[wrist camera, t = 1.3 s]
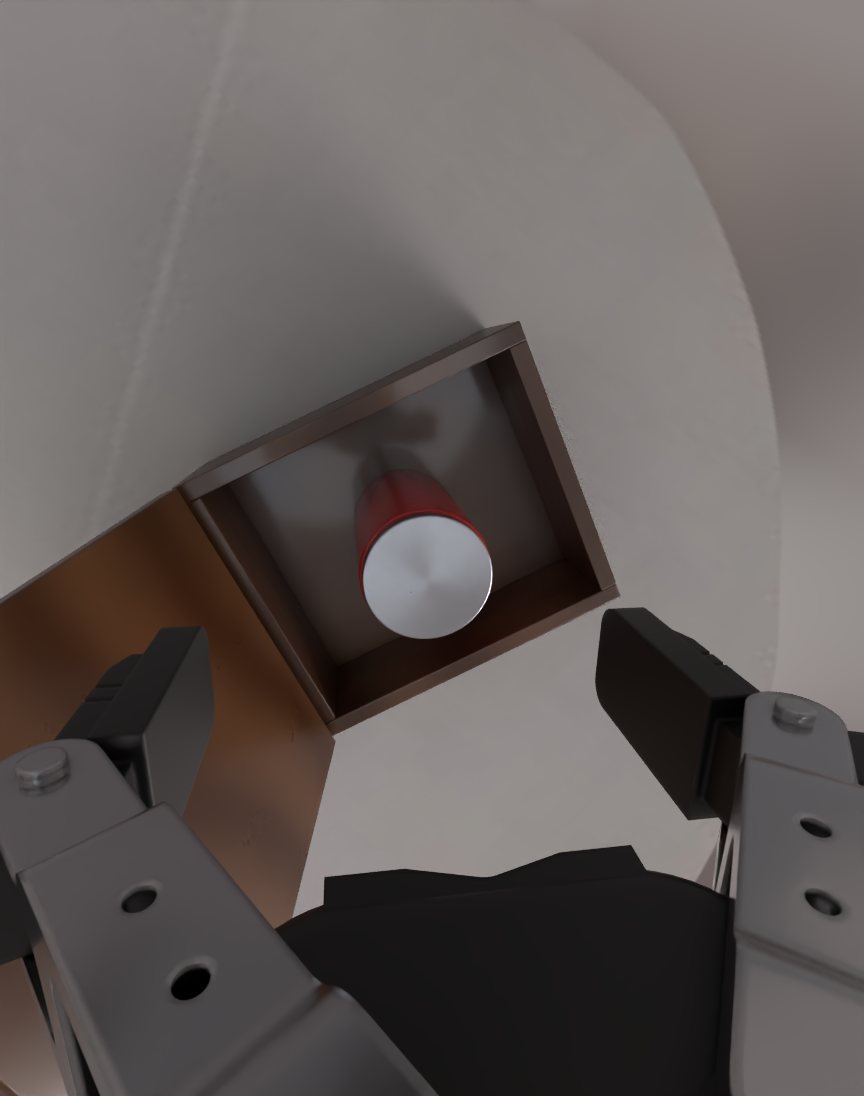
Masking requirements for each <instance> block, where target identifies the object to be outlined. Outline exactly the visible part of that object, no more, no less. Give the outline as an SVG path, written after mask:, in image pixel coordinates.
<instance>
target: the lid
mask: <svg viewBox="0 0 864 1096" xmlns="http://www.w3.org/2000/svg"><path fill="white" fill-rule="evenodd" d="M186 626H204V627H205V629H206V632H207V636H208V644H209V653H210V663H211V672H212V682H213V691H214V703H215V711H214V724H213V729H212V733H211V736H210V739H209V742H208V744H207V747H206V750H205V753H204V756H203V759H202V761H201V764H200V767H199V770H198V773H197V776H196V778H195V781H194V784H193V787H192V790H191V793H190V796H189V798H188V801H187V804H186V807H185V810H184V813H183V815H182V818H183V819H184V820H185V821H186V823H187V824H188V825H189V826H190V828H191V829H192V830H193V831H194V832H195V834H196V835H197V836H198V837H199V838H200V840H201V841H202V842H203V843H204V844H205V846H206V847H207V848H208V849H209V851H210V852H211V853H212V854H213V855H214V857H215V858H216V859H217V860H218V861H219V863H220V864H221V865H222V866H223V867H224V869H225V870H226V871H227V872H228V874H229V875H230V876H231V877H232V878H233V880H234V881H235V882H236V883H237V884H238V886H239V887H240V888H241V889H242V890H243V892H244V893H245V894H246V895H247V897H248V898H249V899H250V900H251V901H252V903H253V904H254V905H255V906H256V907H257V909H258V910H259V911H260V912H261V913H262V915H263V916H264V917H265V918H266V920H267V921H268V922H269V923H270V924H271V926H272V927H273V928H274V929H275V928H277V927H278V926H280V925H282V924H283V923H285V922H287V921H288V920H290V919H292V916H293V912H294V908H295V904H296V900H297V896H298V892H299V888H300V883H301V879H302V875H303V871H304V867H305V863H306V859H307V855H308V851H309V847H310V843H311V839H312V835H313V831H314V827H315V823H316V819H317V815H318V811H319V807H320V803H321V799H322V795H323V790H324V786H325V782H326V778H327V774H328V770H329V766H330V762H331V758H332V754H333V750H334V746H335V740H334V738H333V737H332V735H331V733H330V732H329V730H328V729H327V727H326V726H325V724H324V722H323V721H322V719H321V718H320V716H319V714H318V713H317V711H316V710H315V708H314V706H313V705H312V703H311V702H310V700H309V698H308V697H307V695H306V694H305V692H304V690H303V689H302V687H301V686H300V684H299V683H298V681H297V679H296V678H295V676H294V675H293V673H292V671H291V670H290V668H289V667H288V665H287V663H286V662H285V660H284V659H283V657H282V655H281V654H280V652H279V651H278V649H277V648H276V646H275V644H274V643H273V641H272V640H271V638H270V636H269V635H268V633H267V632H266V630H265V628H264V627H263V625H262V624H261V622H260V620H259V619H258V617H257V616H256V614H255V612H254V611H253V609H252V608H251V606H250V605H249V603H248V601H247V600H246V598H245V597H244V595H243V593H242V592H241V590H240V589H239V587H238V585H237V584H236V582H235V581H234V579H233V577H232V576H231V574H230V573H229V571H228V569H227V568H226V566H225V565H224V563H223V562H222V560H221V558H220V557H219V555H218V554H217V552H216V550H215V549H214V547H213V546H212V544H211V542H210V541H209V539H208V538H207V536H206V534H205V533H204V531H203V530H202V528H201V526H200V525H199V523H198V522H197V520H196V519H195V517H194V515H193V514H192V512H191V511H190V509H189V507H188V506H187V504H186V503H185V501H184V499H183V498H182V496H181V495H180V493H179V491H178V490H177V489H176V488H174V489H172V490H170V491H168V492H165V493H163V494H161V495H159V496H158V497H156V498H155V499H153V500H152V501H150V502H149V503H147V504H146V505H144V506H143V507H141V508H139V509H138V510H136V511H135V512H133V513H132V514H130V515H129V516H127V517H126V518H124V519H123V520H121V521H119V522H118V523H116V524H115V525H113V526H112V527H110V528H109V529H107V530H106V531H104V532H103V533H101V534H99V535H98V536H96V537H95V538H93V539H92V540H90V541H89V542H87V543H86V544H84V545H83V546H81V547H79V548H78V549H76V550H75V551H73V552H72V553H70V554H69V555H67V556H66V557H64V558H63V559H61V560H59V561H58V562H56V563H55V564H53V565H52V566H50V567H49V568H47V569H46V570H44V571H43V572H41V573H39V574H38V575H36V576H35V577H33V578H32V579H30V580H29V581H27V582H26V583H24V584H23V585H21V586H19V587H18V588H16V589H15V590H13V591H12V592H10V593H9V594H7V595H6V596H4V597H3V598H1V599H0V762H1V761H3V760H5V759H6V758H8V757H10V756H11V755H13V754H15V753H17V752H19V751H22V750H24V749H27V748H29V747H32V746H35V745H38V744H41V743H45V742H49V741H53V740H54V739H55V738H56V736H57V735H58V734H59V732H60V731H61V730H62V729H63V727H64V726H65V725H66V723H67V722H68V721H69V719H70V718H71V717H72V715H73V714H74V713H75V712H76V710H77V709H78V708H79V706H80V705H81V704H82V702H85V698H86V697H87V696H88V695H89V693H90V692H91V691H92V689H94V688H96V684H97V683H98V681H99V680H100V679H101V678H102V676H103V675H104V674H105V672H106V671H107V670H108V669H109V668H110V667H112V666H113V665H115V664H117V663H118V662H120V661H121V660H123V659H124V658H126V657H128V656H129V655H131V654H144V652H145V651H146V649H147V648H148V646H149V645H150V643H151V642H152V640H153V639H154V637H155V636H156V635H157V633H158V632H159V630H160V629H161V628H163V627H186ZM0 1096H68V1094H67V1091H66V1088H65V1085H64V1081H63V1078H62V1075H61V1072H60V1069H59V1067H58V1064H57V1061H56V1058H55V1056H54V1053H53V1050H52V1047H51V1045H50V1042H49V1039H48V1036H47V1034H46V1031H45V1028H44V1025H43V1023H42V1020H41V1017H40V1014H39V1012H38V1009H37V1006H36V1003H35V1001H34V998H33V995H32V992H31V990H30V987H29V984H28V981H27V979H26V976H25V973H24V970H23V968H22V965H21V961H20V958H19V959H16V960H13V961H11V962H8V963H5V964H3V965H0Z"/></svg>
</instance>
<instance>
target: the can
mask: <svg viewBox="0 0 864 1096" xmlns="http://www.w3.org/2000/svg"><path fill="white" fill-rule="evenodd" d="M355 534H356V547H357V561H358V574H359V584H360V588H361V592H362V595H363V597H364V600H365V602H366V603H367V605H368V607H369V609H370V610H371V612H372V613H373V615H374V616H375V617H376V618H377V619H378V620H379V621H380V622H381V623H382V624H383V625H384V626H386V627H387V628H388V629H390V630H392V631H394V632H395V633H398V634H400V635H403V636H407V637H410V638H417V639H431V638H438V637H442V636H445V635H448V634H451V633H453V632H455V631H457V630H459V629H461V628H462V627H464V626H465V625H466V624H468V623H469V622H470V621H471V620H472V619H473V618H474V617H475V616H476V615H477V614H478V613H479V611H480V610H481V608H482V607H483V605H484V604H485V602H486V600H487V597H488V595H489V592H490V589H491V584H492V564H491V559H490V554H489V551H488V548H487V545H486V543H485V541H484V539H483V538H482V536H481V535H480V533H479V532H478V530H477V529H476V528H475V527H474V525H473V524H472V523H471V522H470V520H469V519H468V518H467V517H466V515H465V514H464V513H463V512H462V510H461V509H460V508H459V506H458V505H457V504H456V503H455V501H454V500H453V499H452V498H451V496H450V495H449V494H448V493H447V491H446V490H445V489H444V488H443V486H442V485H441V484H440V483H439V482H437V481H436V480H435V479H434V478H432V477H430V476H429V475H426V474H424V473H421V472H418V471H413V470H398V471H393V472H389V473H387V474H384V475H382V476H380V477H379V478H377V479H376V480H374V481H373V482H372V483H371V484H370V485H368V487H367V488H366V489H365V490H364V492H363V493H362V495H361V496H360V498H359V501H358V503H357V506H356V510H355Z"/></svg>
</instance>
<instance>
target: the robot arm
mask: <svg viewBox="0 0 864 1096" xmlns="http://www.w3.org/2000/svg"><path fill="white" fill-rule="evenodd" d="M595 683H596V691H597V696H598V699H599V702H600V704H601V706H602V707H603V709H604V710H605V711H606V713H607V714H608V715H609V717H610V718H611V719H612V721H613V722H614V723H615V725H616V726H617V727H618V728H619V730H620V731H621V732H622V734H623V735H624V736H625V738H626V739H627V740H628V742H629V743H630V744H631V746H632V747H633V748H634V750H635V751H636V752H637V754H638V755H639V756H640V757H641V759H642V760H643V761H644V763H645V764H646V765H647V767H648V768H649V769H650V771H651V772H652V773H653V775H654V776H655V777H656V779H657V780H658V781H659V782H660V784H661V785H662V786H663V788H664V789H665V790H666V792H667V793H668V794H669V796H670V797H671V798H672V800H673V801H674V802H675V804H676V805H677V806H678V807H679V809H680V810H681V811H682V813H683V814H684V815H685V817H686V818H687V819H688V820H696V819H706V818H716V817H719V818H720V820H721V826H720V831H719V836H718V842H717V851H716V859H715V868H714V877H713V886H712V889H710V888H708V887H705V886H703V885H700V884H698V883H695V882H693V881H690V880H687V879H684V878H680V877H677V876H674V875H670V874H665V873H660V872H656V871H649V870H646V869H645V868H644V866H643V864H642V863H641V861H640V859H639V858H638V856H637V854H636V853H635V851H634V849H633V848H632V846H631V845H627V846H617V847H608V848H598V849H589V850H579V851H569V852H560V853H557V854H554V855H552V856H549V857H546V858H543V859H540V860H538V861H535V862H532V863H529V864H527V865H524V866H521V867H518V868H515V869H513V870H510V871H507V872H504V873H502V874H499V875H496V876H492V877H474V876H465V875H456V874H446V873H437V872H428V871H419V870H410V869H398V870H389V871H379V872H370V873H360V874H351V875H341V876H332V877H325V878H324V905H322V906H319V907H317V908H314V909H311V910H309V911H307V912H305V913H302V914H300V915H298V916H296V917H294V918H292V919H290V920H288V921H287V922H285V923H283V924H282V925H280V926H278V927H277V928H275V929H274V928H273V927H272V926H271V924H270V923H269V922H268V921H267V920H266V918H265V917H264V916H263V915H262V913H261V912H260V911H259V910H258V909H257V907H256V906H255V905H254V904H253V903H252V901H251V900H250V899H249V898H248V897H247V895H246V894H245V893H244V892H243V890H242V889H241V888H240V887H239V886H238V884H237V883H236V882H235V881H234V880H233V878H232V877H231V876H230V875H229V874H228V872H227V871H226V870H225V869H224V867H223V866H222V865H221V864H220V863H219V861H218V860H217V859H216V858H215V857H214V855H213V854H212V853H211V852H210V851H209V849H208V848H207V847H206V846H205V844H204V843H203V842H202V841H201V840H200V838H199V837H198V836H197V835H196V834H195V832H194V831H193V830H192V829H191V828H190V826H189V825H188V824H187V823H186V821H185V820H184V819H183V818H182V815H183V813H184V810H185V807H186V804H187V801H188V798H189V796H190V793H191V790H192V787H193V784H194V781H195V778H196V776H197V773H198V770H199V767H200V764H201V761H202V759H203V756H204V753H205V750H206V747H207V744H208V742H209V739H210V736H211V733H212V729H213V724H214V711H215V703H214V691H213V682H212V672H211V663H210V653H209V644H208V636H207V632H206V629H205V627H204V626H186V627H163V628H161V629H160V630H159V632H158V633H157V635H156V636H155V637H154V639H153V640H152V642H151V643H150V645H149V646H148V648H147V649H146V651H145V652H144V654H131V655H129V656H128V657H126V658H124V659H123V660H121V661H120V662H118V663H117V664H115V665H113V666H112V667H110V668H109V669H108V670H107V671H106V672H105V674H104V675H103V676H102V678H101V679H100V680H99V681H98V683H97V684H96V688H94V689H92V691H91V692H90V693H89V695H88V696H87V697H86V698H85V702H82V704H81V705H80V706H79V708H78V709H77V710H76V712H75V713H74V714H73V715H72V717H71V718H70V719H69V721H68V722H67V723H66V725H65V726H64V727H63V729H62V730H61V731H60V732H59V734H58V735H57V736H56V738H55V739H54V740H53V741H49V742H45V743H41V744H38V745H35V746H32V747H29V748H27V749H24V750H22V751H19V752H17V753H15V754H13V755H11V756H10V757H8V758H6V759H5V760H3V761H1V762H0V965H3V964H5V963H8V962H11V961H13V960H16V959H19V958H20V961H21V965H22V968H23V970H24V973H25V976H26V979H27V981H28V984H29V987H30V990H31V992H32V995H33V998H34V1001H35V1003H36V1006H37V1009H38V1012H39V1014H40V1017H41V1020H42V1023H43V1025H44V1028H45V1031H46V1034H47V1036H48V1039H49V1042H50V1045H51V1047H52V1050H53V1053H54V1056H55V1058H56V1061H57V1064H58V1067H59V1069H60V1072H61V1075H62V1078H63V1081H64V1085H65V1088H66V1091H67V1094H68V1096H864V733H861V732H853V731H847V727H846V725H845V723H844V721H843V720H842V719H841V718H840V717H839V716H838V715H837V714H836V713H834V712H833V711H831V710H830V709H828V708H826V707H825V706H823V705H821V704H819V703H816V702H814V701H812V700H809V699H806V698H803V697H800V696H797V695H793V694H788V693H781V692H771V691H768V692H760V691H759V690H758V689H756V688H755V687H754V686H752V685H751V684H750V683H749V682H747V681H746V680H745V679H743V678H742V677H741V676H740V675H738V674H737V673H736V672H735V671H733V670H732V669H731V668H729V667H728V666H727V665H723V662H722V661H720V660H719V659H718V658H717V657H715V656H714V655H713V654H711V655H710V653H709V651H708V650H706V649H705V648H704V647H703V646H701V645H700V644H699V643H698V642H696V641H695V640H694V639H692V638H690V637H687V636H685V635H683V634H681V633H679V632H676V631H674V630H672V629H671V628H669V627H668V626H667V625H666V624H664V623H663V622H662V621H661V620H659V619H658V618H657V617H656V616H654V615H653V614H652V613H651V612H649V611H648V610H647V609H645V608H643V607H640V608H617V609H608V610H606V611H605V613H604V615H603V618H602V623H601V631H600V640H599V649H598V658H597V667H596V677H595Z"/></svg>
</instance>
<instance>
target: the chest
mask: <svg viewBox="0 0 864 1096" xmlns="http://www.w3.org/2000/svg"><path fill="white" fill-rule="evenodd" d="M398 470H413V471H418V472H421V473H424V474H426V475H429V476H430V477H432V478H434V479H435V480H436V481H437V482H439V483H440V484H441V485H442V486H443V488H444V489H445V490H446V491H447V493H448V494H449V495H450V496H451V498H452V499H453V500H454V501H455V503H456V504H457V505H458V506H459V508H460V509H461V510H462V512H463V513H464V514H465V515H466V517H467V518H468V519H469V520H470V522H471V523H472V524H473V525H474V527H475V528H476V529H477V530H478V532H479V533H480V535H481V536H482V538H483V539H484V541H485V543H486V545H487V548H488V551H489V554H490V559H491V564H492V584H491V589H490V592H489V595H488V597H487V600H486V602H485V604H484V605H483V607H482V608H481V610H480V611H479V613H478V614H477V615H476V616H475V617H474V618H473V619H472V620H471V621H470V622H469V623H468V624H466V625H465V626H464V627H462V628H461V629H459V630H457V631H455V632H453V633H451V634H448V635H445V636H442V637H438V638H431V639H417V638H410V637H407V636H403V635H400V634H398V633H395V632H394V631H392V630H390V629H388V628H387V627H386V626H384V625H383V624H382V623H381V622H380V621H379V620H378V619H377V618H376V617H375V616H374V615H373V613H372V612H371V610H370V609H369V607H368V605H367V603H366V602H365V600H364V597H363V595H362V592H361V588H360V584H359V574H358V561H357V547H356V534H355V510H356V506H357V503H358V501H359V498H360V496H361V495H362V493H363V492H364V490H365V489H366V488H367V487H368V485H370V484H371V483H372V482H373V481H374V480H376V479H377V478H379V477H380V476H382V475H384V474H387V473H389V472H393V471H398ZM174 488H176V489H177V490H178V491H179V493H180V495H181V496H182V498H183V499H184V501H185V503H186V504H187V506H188V507H189V509H190V511H191V512H192V514H193V515H194V517H195V519H196V520H197V522H198V523H199V525H200V526H201V528H202V530H203V531H204V533H205V534H206V536H207V538H208V539H209V541H210V542H211V544H212V546H213V547H214V549H215V550H216V552H217V554H218V555H219V557H220V558H221V560H222V562H223V563H224V565H225V566H226V568H227V569H228V571H229V573H230V574H231V576H232V577H233V579H234V581H235V582H236V584H237V585H238V587H239V589H240V590H241V592H242V593H243V595H244V597H245V598H246V600H247V601H248V603H249V605H250V606H251V608H252V609H253V611H254V612H255V614H256V616H257V617H258V619H259V620H260V622H261V624H262V625H263V627H264V628H265V630H266V632H267V633H268V635H269V636H270V638H271V640H272V641H273V643H274V644H275V646H276V648H277V649H278V651H279V652H280V654H281V655H282V657H283V659H284V660H285V662H286V663H287V665H288V667H289V668H290V670H291V671H292V673H293V675H294V676H295V678H296V679H297V681H298V683H299V684H300V686H301V687H302V689H303V690H304V692H305V694H306V695H307V697H308V698H309V700H310V702H311V703H312V705H313V706H314V708H315V710H316V711H317V713H318V714H319V716H320V718H321V719H322V721H323V722H324V724H325V726H326V727H327V729H328V730H329V732H330V733H331V735H332V736H333V735H335V734H337V733H339V732H341V731H344V730H346V729H348V728H350V727H352V726H354V725H356V724H358V723H360V722H362V721H364V720H366V719H368V718H371V717H373V716H375V715H377V714H379V713H381V712H383V711H385V710H387V709H389V708H391V707H393V706H395V705H398V704H400V703H402V702H404V701H406V700H408V699H410V698H412V697H414V696H416V695H418V694H420V693H422V692H425V691H427V690H429V689H431V688H433V687H435V686H437V685H439V684H441V683H443V682H445V681H447V680H449V679H452V678H454V677H456V676H458V675H460V674H462V673H464V672H466V671H468V670H470V669H472V668H474V667H476V666H479V665H481V664H483V663H485V662H487V661H489V660H491V659H493V658H495V657H497V656H499V655H501V654H503V653H506V652H508V651H510V650H512V649H514V648H516V647H518V646H520V645H522V644H524V643H526V642H528V641H530V640H533V639H535V638H537V637H539V636H541V635H543V634H545V633H547V632H549V631H551V630H553V629H555V628H557V627H560V626H562V625H564V624H566V623H568V622H570V621H572V620H574V619H576V618H578V617H580V616H582V615H584V614H587V613H589V612H591V611H593V610H595V609H597V608H599V607H601V606H603V605H605V604H607V603H609V602H611V601H614V600H616V599H618V598H620V593H619V591H618V588H617V585H616V582H615V579H614V576H613V574H612V571H611V568H610V566H609V563H608V560H607V557H606V555H605V552H604V549H603V547H602V544H601V541H600V538H599V536H598V533H597V530H596V528H595V525H594V522H593V519H592V517H591V514H590V511H589V509H588V506H587V503H586V500H585V498H584V495H583V492H582V490H581V487H580V484H579V481H578V479H577V476H576V473H575V471H574V468H573V465H572V463H571V460H570V457H569V454H568V452H567V449H566V446H565V444H564V441H563V438H562V435H561V433H560V430H559V427H558V425H557V422H556V419H555V416H554V414H553V411H552V408H551V406H550V403H549V400H548V397H547V395H546V392H545V389H544V387H543V384H542V381H541V378H540V376H539V373H538V370H537V368H536V365H535V362H534V360H533V357H532V354H531V351H530V349H529V346H528V343H527V341H526V338H525V335H524V332H523V330H522V327H521V324H520V322H519V321H517V322H512V323H508V324H503V325H499V326H494V327H490V328H486V329H483V330H481V331H479V332H477V333H475V334H473V335H471V336H469V337H467V338H465V339H463V340H461V341H459V342H457V343H454V344H452V345H450V346H448V347H446V348H444V349H442V350H440V351H438V352H436V353H434V354H432V355H430V356H428V357H425V358H423V359H421V360H419V361H417V362H415V363H413V364H411V365H409V366H407V367H405V368H403V369H401V370H398V371H396V372H394V373H392V374H390V375H388V376H386V377H384V378H382V379H380V380H378V381H376V382H374V383H372V384H369V385H367V386H365V387H363V388H361V389H359V390H357V391H355V392H353V393H351V394H349V395H347V396H345V397H343V398H340V399H338V400H336V401H334V402H332V403H330V404H328V405H326V406H324V407H322V408H320V409H318V410H316V411H314V412H311V413H309V414H307V415H305V416H303V417H301V418H299V419H297V420H295V421H293V422H291V423H289V424H287V425H285V426H282V427H280V428H278V429H276V430H274V431H272V432H270V433H268V434H266V435H264V436H262V437H260V438H258V439H256V440H253V441H251V442H249V443H247V444H245V445H243V446H241V447H239V448H237V449H235V450H233V451H231V452H229V453H227V454H224V455H222V456H220V457H218V458H216V459H214V460H212V461H210V462H208V463H206V464H204V465H203V466H201V467H200V468H199V469H197V470H196V471H195V472H193V473H192V474H191V475H189V476H188V477H187V478H185V479H184V480H183V481H181V482H180V483H179V484H177V485H176V486H175V487H173V488H172V489H174Z"/></svg>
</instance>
